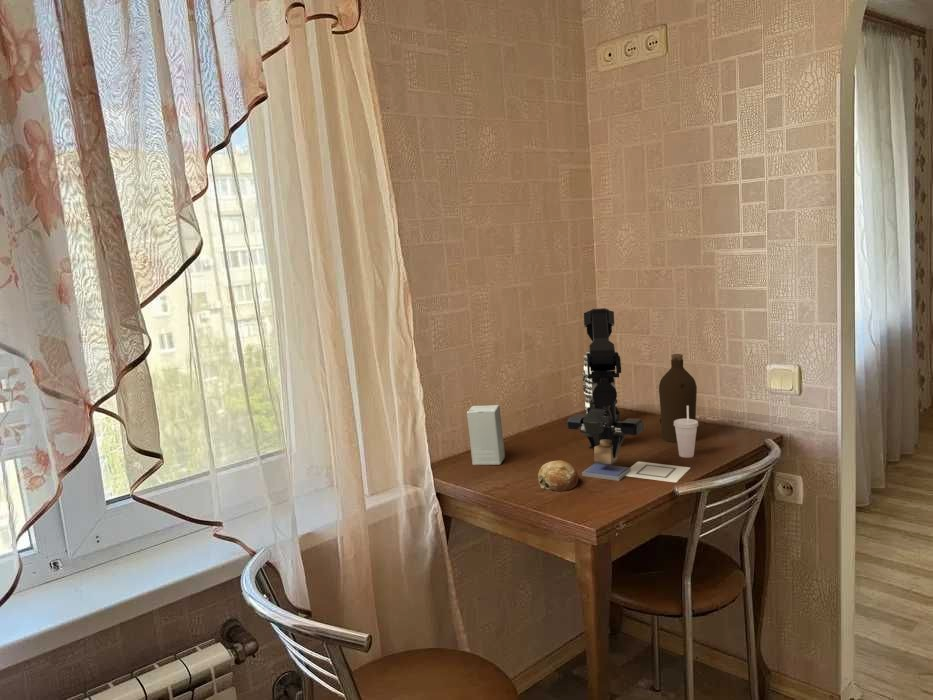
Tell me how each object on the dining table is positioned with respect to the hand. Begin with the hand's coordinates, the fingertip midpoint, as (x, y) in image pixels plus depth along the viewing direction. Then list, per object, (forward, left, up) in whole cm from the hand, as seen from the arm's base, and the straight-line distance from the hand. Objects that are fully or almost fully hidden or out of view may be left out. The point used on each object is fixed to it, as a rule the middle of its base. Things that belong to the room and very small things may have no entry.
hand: (605, 456), depth 184 cm
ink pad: (0, 0, -5) cm, 5 cm away
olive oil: (+7, +38, -5) cm, 39 cm away
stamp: (0, 0, -1) cm, 1 cm away
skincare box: (-34, -3, -5) cm, 34 cm away
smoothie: (+14, +22, -5) cm, 26 cm away
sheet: (+11, +6, -5) cm, 13 cm away
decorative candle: (-19, +40, -5) cm, 44 cm away
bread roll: (-8, -12, -5) cm, 15 cm away
